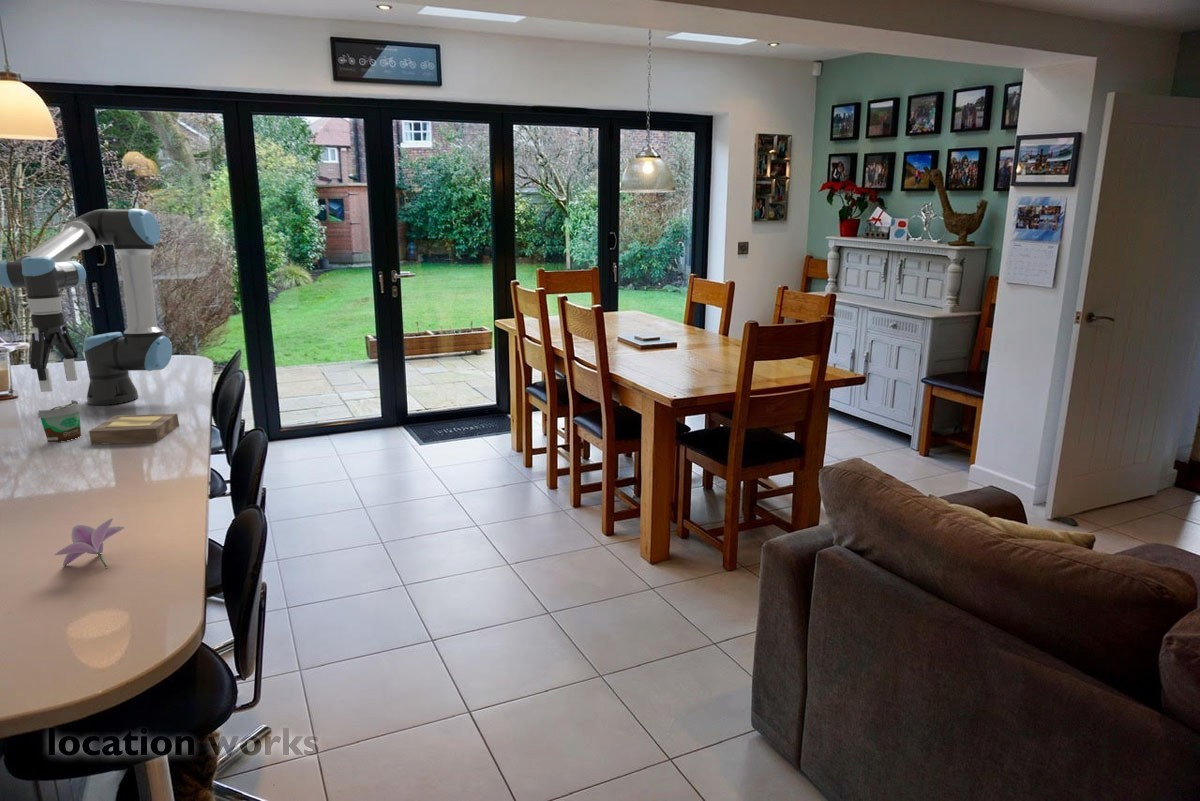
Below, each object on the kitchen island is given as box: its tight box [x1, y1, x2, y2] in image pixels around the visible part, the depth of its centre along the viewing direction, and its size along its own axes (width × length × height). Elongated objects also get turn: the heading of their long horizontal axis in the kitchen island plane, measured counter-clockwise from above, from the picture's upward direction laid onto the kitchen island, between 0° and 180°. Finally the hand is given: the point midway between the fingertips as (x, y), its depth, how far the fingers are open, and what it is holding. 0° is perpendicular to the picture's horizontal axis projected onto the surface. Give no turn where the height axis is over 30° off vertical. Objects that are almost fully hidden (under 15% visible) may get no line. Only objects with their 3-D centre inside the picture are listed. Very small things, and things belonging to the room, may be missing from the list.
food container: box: [37, 400, 82, 443], centre depth 230 cm, size 12×6×10 cm, turn 168°
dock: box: [88, 413, 180, 445], centre depth 233 cm, size 16×18×4 cm
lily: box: [54, 517, 125, 568], centre depth 152 cm, size 12×12×10 cm
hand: (59, 385), depth 226 cm, fingers open, 13 cm apart
